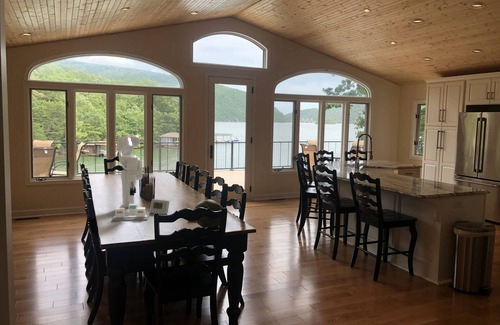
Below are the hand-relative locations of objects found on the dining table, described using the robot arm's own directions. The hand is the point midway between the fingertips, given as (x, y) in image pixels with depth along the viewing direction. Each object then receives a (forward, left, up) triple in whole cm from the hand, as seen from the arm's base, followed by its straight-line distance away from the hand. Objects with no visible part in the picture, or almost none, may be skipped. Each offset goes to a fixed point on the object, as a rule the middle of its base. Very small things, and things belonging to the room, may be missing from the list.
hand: (133, 194), depth 310 cm
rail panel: (+12, 0, -16) cm, 20 cm away
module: (-1, 0, -16) cm, 16 cm away
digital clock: (-2, +20, -16) cm, 26 cm away
